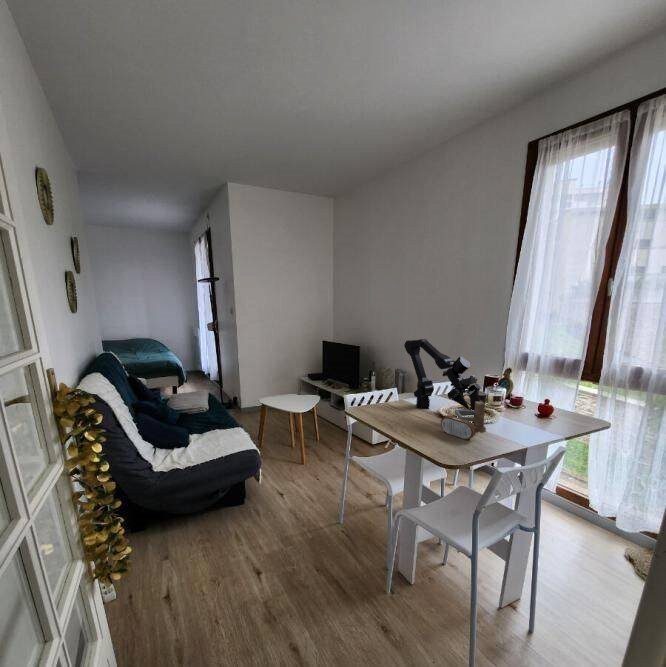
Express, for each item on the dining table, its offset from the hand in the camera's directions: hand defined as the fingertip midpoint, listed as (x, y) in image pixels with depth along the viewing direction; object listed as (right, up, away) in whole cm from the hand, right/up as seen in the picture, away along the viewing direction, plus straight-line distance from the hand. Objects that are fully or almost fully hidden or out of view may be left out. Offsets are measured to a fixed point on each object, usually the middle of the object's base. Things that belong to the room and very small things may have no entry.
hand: (474, 406), depth 152 cm
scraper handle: (+1, -10, -1) cm, 11 cm away
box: (+2, -9, +11) cm, 14 cm away
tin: (-12, -11, -9) cm, 19 cm away
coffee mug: (+11, -8, +25) cm, 28 cm away
